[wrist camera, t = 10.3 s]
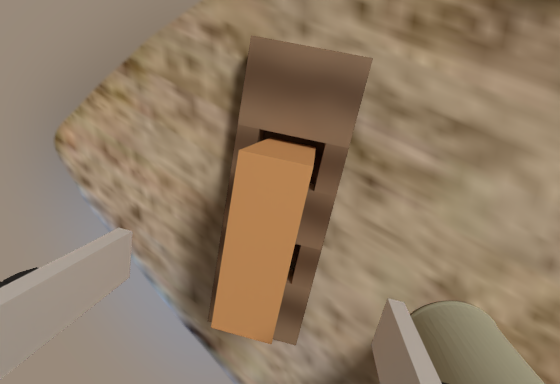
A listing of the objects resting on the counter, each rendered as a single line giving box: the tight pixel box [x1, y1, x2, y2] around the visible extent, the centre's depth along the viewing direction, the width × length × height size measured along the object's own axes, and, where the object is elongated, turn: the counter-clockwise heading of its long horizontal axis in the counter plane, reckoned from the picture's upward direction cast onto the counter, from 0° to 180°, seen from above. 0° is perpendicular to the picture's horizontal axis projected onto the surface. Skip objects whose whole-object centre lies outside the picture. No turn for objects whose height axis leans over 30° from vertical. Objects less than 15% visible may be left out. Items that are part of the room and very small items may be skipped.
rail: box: [208, 36, 373, 345], centre depth 25 cm, size 26×9×2 cm, turn 169°
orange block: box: [211, 137, 316, 344], centre depth 21 cm, size 12×4×10 cm, turn 169°
